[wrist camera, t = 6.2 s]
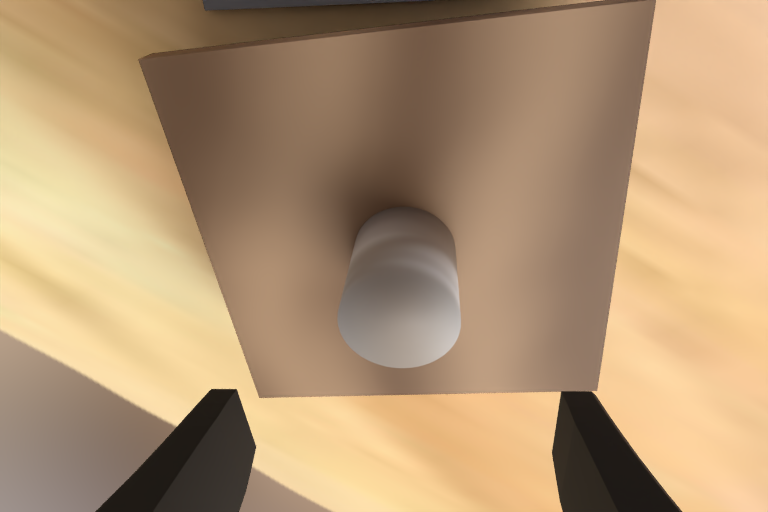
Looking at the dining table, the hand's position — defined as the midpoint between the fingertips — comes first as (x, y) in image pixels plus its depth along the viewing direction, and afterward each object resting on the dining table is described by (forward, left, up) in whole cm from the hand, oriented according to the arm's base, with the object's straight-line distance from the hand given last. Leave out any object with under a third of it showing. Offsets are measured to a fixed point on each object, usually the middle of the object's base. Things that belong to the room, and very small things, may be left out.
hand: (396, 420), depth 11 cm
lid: (0, -1, -7) cm, 7 cm away
